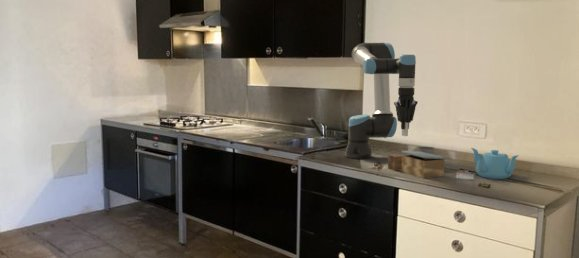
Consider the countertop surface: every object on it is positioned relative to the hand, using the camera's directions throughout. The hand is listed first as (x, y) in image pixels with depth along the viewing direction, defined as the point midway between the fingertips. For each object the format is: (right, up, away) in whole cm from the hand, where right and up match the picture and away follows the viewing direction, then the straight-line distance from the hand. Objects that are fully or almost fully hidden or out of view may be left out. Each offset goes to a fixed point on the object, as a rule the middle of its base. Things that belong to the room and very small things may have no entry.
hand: (404, 135), depth 237 cm
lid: (+8, -9, -4) cm, 13 cm away
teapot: (+39, -19, -8) cm, 44 cm away
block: (-3, -17, +7) cm, 19 cm away
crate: (+8, -18, -3) cm, 20 cm away
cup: (+13, -16, +11) cm, 24 cm away
